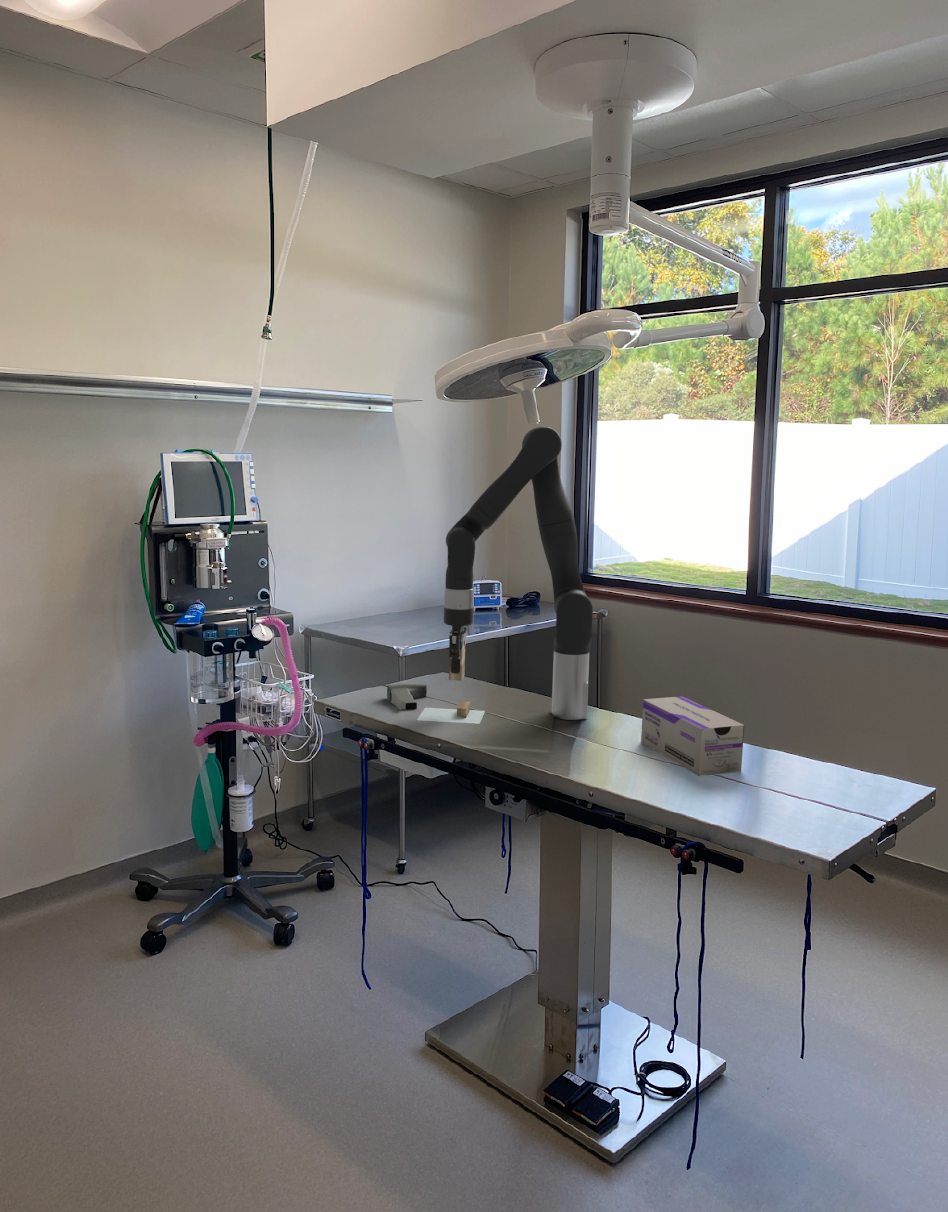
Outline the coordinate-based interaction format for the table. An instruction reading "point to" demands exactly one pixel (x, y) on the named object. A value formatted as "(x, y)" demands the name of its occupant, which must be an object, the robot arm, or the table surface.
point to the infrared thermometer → (405, 694)
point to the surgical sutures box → (692, 735)
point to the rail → (463, 709)
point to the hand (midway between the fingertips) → (457, 670)
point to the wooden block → (462, 666)
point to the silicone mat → (450, 716)
